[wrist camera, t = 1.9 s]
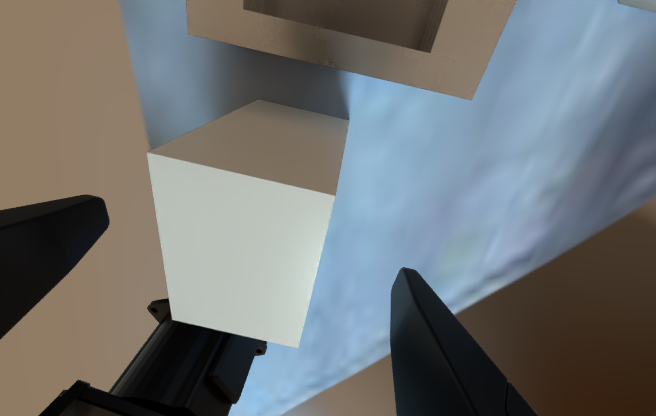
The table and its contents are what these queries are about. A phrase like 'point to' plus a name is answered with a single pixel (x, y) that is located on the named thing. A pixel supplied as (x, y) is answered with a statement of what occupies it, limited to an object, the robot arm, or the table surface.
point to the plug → (247, 217)
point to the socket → (367, 35)
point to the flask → (640, 4)
